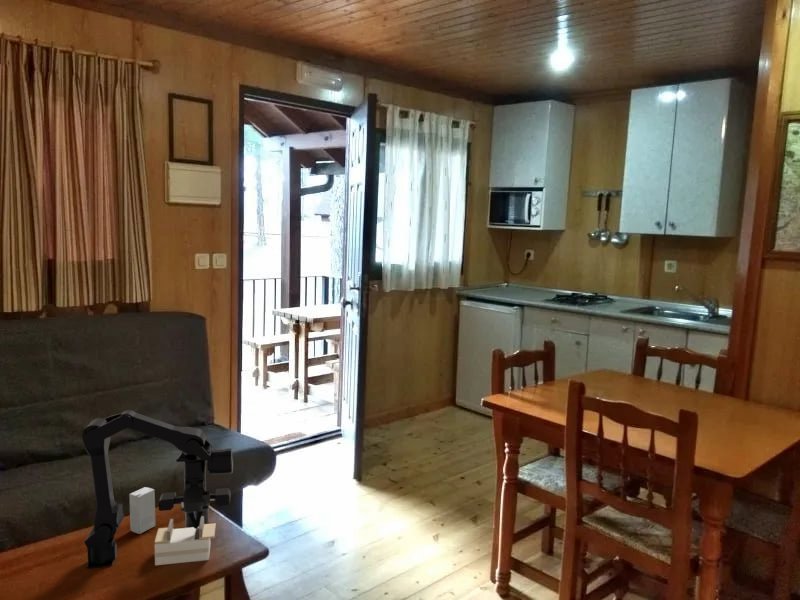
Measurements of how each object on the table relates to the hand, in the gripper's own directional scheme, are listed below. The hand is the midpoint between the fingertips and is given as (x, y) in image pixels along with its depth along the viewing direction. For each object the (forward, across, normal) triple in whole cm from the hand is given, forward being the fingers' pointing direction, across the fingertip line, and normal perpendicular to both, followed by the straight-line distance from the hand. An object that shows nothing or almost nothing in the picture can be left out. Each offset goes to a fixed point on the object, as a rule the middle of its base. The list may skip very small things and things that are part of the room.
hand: (196, 527), depth 173 cm
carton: (+8, -4, 0) cm, 8 cm away
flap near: (+2, -9, 0) cm, 9 cm away
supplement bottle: (+8, -1, +15) cm, 17 cm away
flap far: (+1, +3, 0) cm, 3 cm away
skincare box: (+8, -17, +18) cm, 26 cm away
